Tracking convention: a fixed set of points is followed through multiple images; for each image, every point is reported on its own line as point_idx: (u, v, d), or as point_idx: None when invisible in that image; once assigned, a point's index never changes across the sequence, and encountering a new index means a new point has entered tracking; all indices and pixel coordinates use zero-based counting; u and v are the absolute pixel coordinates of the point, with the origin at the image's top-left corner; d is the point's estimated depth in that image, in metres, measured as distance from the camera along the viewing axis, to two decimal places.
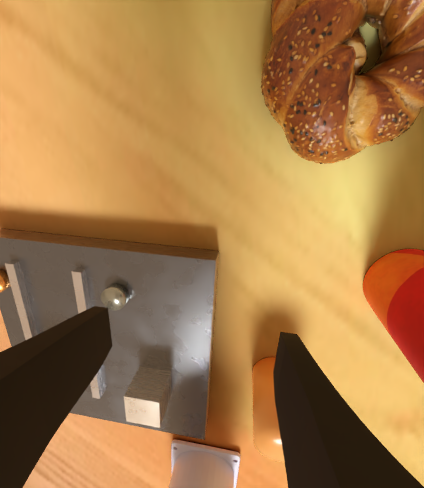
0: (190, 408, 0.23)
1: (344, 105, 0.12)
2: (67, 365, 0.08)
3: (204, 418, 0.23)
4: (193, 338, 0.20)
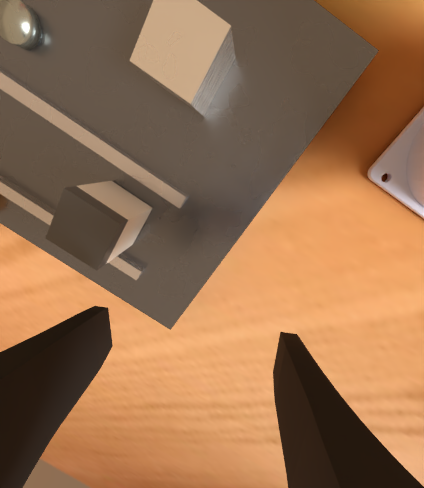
0: (281, 31, 0.11)
1: None
2: (67, 365, 0.08)
3: (321, 11, 0.11)
4: None
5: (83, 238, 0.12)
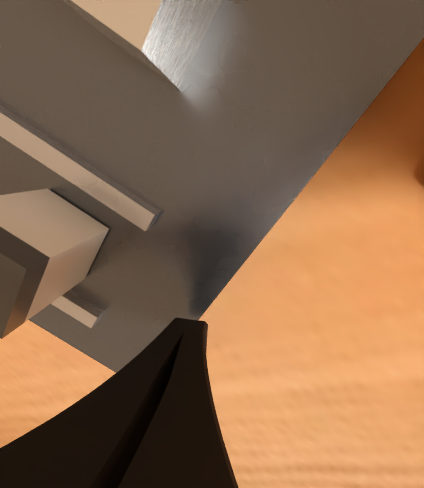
0: None
1: None
2: None
3: None
4: None
5: None
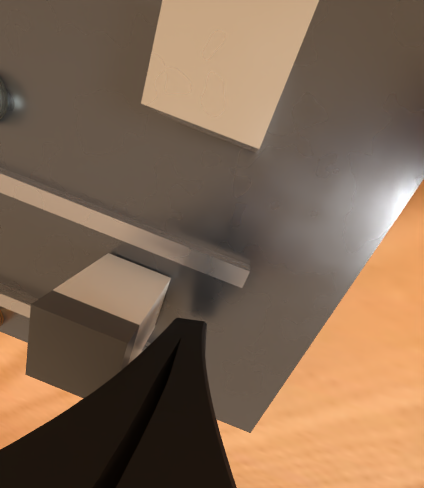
0: None
1: None
2: None
3: None
4: None
5: (78, 369, 0.07)
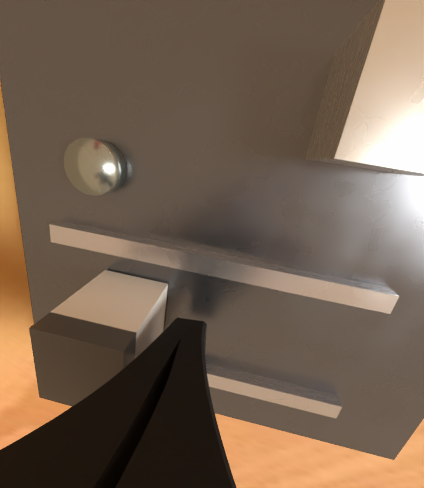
0: None
1: None
2: None
3: None
4: None
5: (85, 384, 0.08)
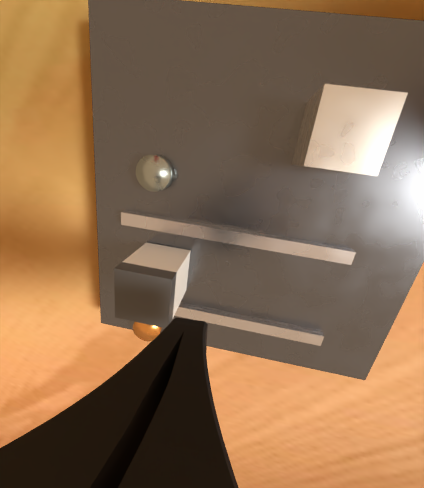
0: (414, 64, 0.11)
1: None
2: None
3: None
4: (231, 44, 0.11)
5: (145, 304, 0.12)
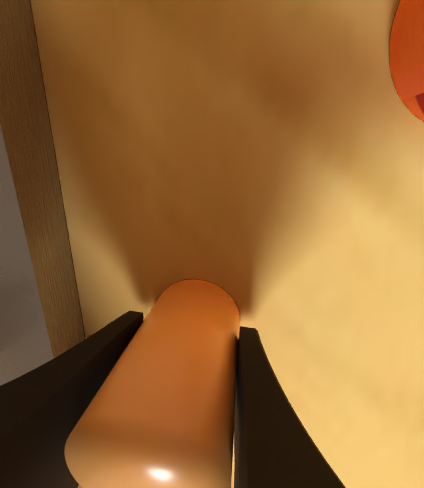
0: None
1: None
2: None
3: None
4: None
5: None
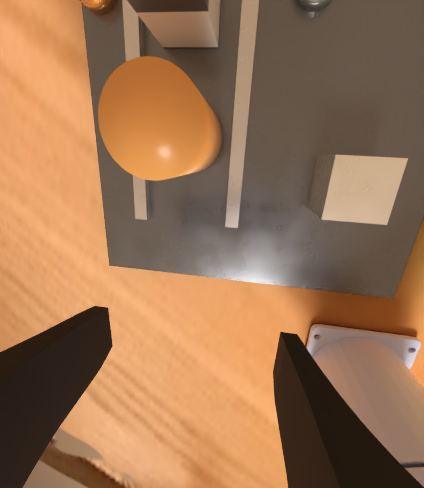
0: (387, 236, 0.14)
1: None
2: (67, 365, 0.08)
3: (407, 254, 0.14)
4: None
5: None
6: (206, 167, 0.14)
